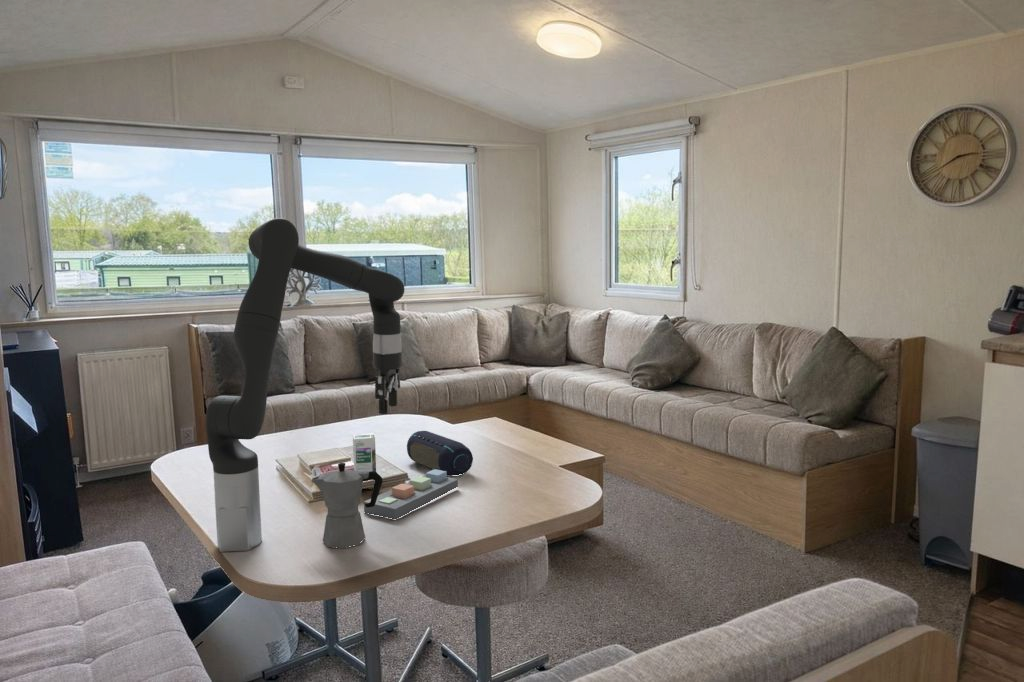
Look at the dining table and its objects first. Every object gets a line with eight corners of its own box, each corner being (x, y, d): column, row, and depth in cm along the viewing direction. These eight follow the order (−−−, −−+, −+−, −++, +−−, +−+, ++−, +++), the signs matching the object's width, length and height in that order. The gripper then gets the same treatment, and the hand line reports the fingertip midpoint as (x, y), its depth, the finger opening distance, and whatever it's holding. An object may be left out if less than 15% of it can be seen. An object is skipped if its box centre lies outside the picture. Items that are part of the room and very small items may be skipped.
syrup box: (355, 491, 194) (353, 438, 192) (354, 484, 199) (352, 433, 198) (376, 489, 195) (375, 437, 193) (375, 482, 201) (373, 432, 199)
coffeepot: (312, 551, 155) (308, 471, 152) (315, 535, 164) (312, 458, 162) (384, 546, 158) (382, 466, 155) (383, 529, 167) (381, 454, 165)
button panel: (395, 520, 172) (395, 507, 172) (364, 513, 177) (363, 500, 177) (458, 490, 194) (457, 478, 194) (428, 484, 199) (428, 472, 199)
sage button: (421, 495, 186) (421, 482, 185) (409, 493, 188) (409, 480, 187) (431, 491, 189) (430, 478, 188) (419, 488, 191) (418, 476, 191)
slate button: (438, 488, 191) (437, 475, 191) (426, 485, 194) (425, 473, 193) (446, 483, 195) (446, 471, 194) (435, 481, 197) (434, 469, 196)
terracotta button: (404, 503, 180) (403, 490, 179) (391, 501, 182) (391, 487, 181) (414, 499, 183) (414, 485, 183) (402, 496, 185) (401, 483, 185)
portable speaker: (401, 462, 220) (400, 431, 219) (428, 456, 226) (428, 425, 225) (448, 482, 201) (448, 448, 200) (476, 475, 207) (476, 442, 206)
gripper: (382, 345, 197) (383, 403, 200) (364, 354, 183) (366, 415, 186) (408, 346, 196) (409, 404, 199) (393, 355, 182) (394, 417, 185)
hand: (388, 409), depth 192 cm, fingers open, 8 cm apart
